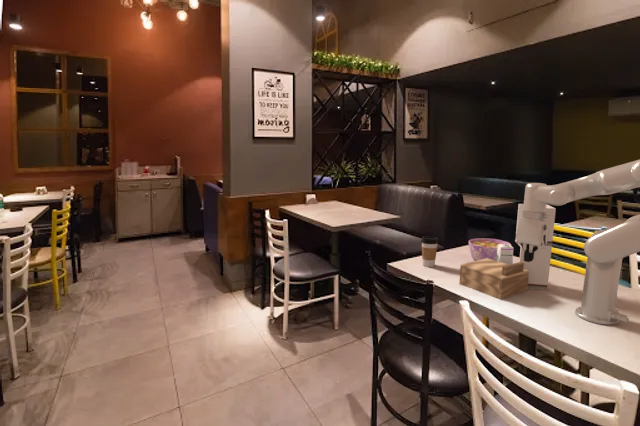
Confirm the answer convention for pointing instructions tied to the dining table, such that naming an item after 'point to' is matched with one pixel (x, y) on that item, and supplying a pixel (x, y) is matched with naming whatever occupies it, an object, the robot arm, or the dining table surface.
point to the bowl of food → (484, 248)
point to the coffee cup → (429, 250)
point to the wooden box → (494, 283)
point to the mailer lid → (496, 268)
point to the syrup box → (505, 253)
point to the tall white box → (539, 254)
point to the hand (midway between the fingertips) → (528, 261)
